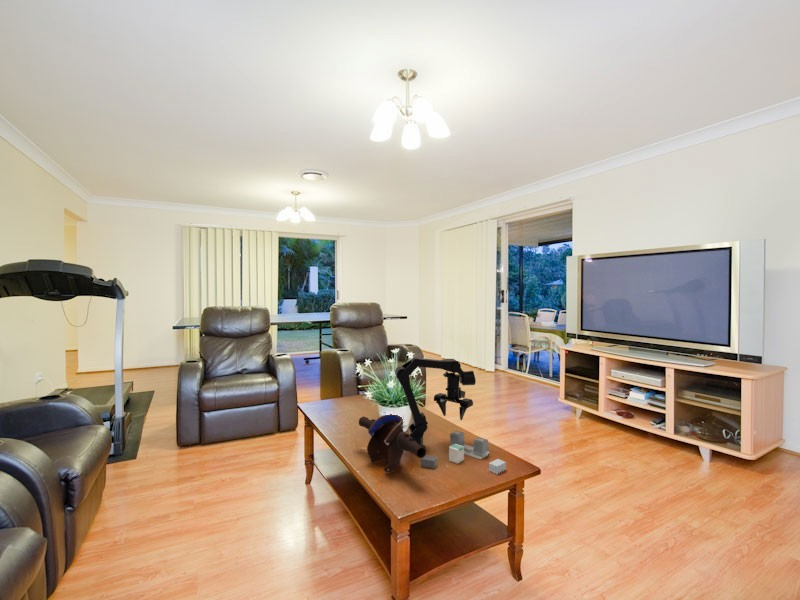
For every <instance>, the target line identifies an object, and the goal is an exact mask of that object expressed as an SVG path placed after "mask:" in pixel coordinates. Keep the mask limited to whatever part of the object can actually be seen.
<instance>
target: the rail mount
mask: <svg viewBox="0 0 800 600" xmlns="http://www.w3.org/2000/svg"><path fill="white" fill-rule="evenodd" d="M449 438H450V439H449V444H450V445H449V446H448V448H449V447H450V446H451V445H453V444H458V445H461V446H464V455H466V456H469V457H472V458H474V459H475V458H476V459H479V460H481V459H482V460H483V459H484V458H485V457H486V458H487V457H488V456H489V455H490V451H489V439H487V438H484V437H477V438H475V439H474V440H473V446H472V445H468V444H465V433H464V432H462V431H459V430H455V431H452V432H450V434H449ZM488 454H489V455H488Z"/></svg>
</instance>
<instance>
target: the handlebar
mask: <svg viewBox="0 0 800 600" xmlns="http://www.w3.org/2000/svg"><path fill="white" fill-rule="evenodd" d="M403 420H404V418H403V419H402V417H400V416H398V415H392V414H390V415H386V414H384V415H380V416H379V417H378V418H377V419H369V418H368V417H366V416H362V417H361V416H360V418H359V420H358V425H359V426H360V427H363V428H365V429H367V434H368V435H369V436H370V437H371V438H370V439H369V440H368V444H367V446H366V447H367V448H366V451H367V455H368V457H369V459H370V463H371V464H372V463H376V462H378V461H387V465H386V467H385V468H384V469H383V470H384V472H385V473H392V472H395V471H396V470H397V469H398V468H399V466H400V463H401V461H402V460H401V459H402V457H403V455H404V451H405V452H409V453H412V454H414V455H415V456H416V457H417V458H419V459H421V458H423V457H424V456H425V455H427V448H426V446H425V447H424V446H423V445H424V444H423V445H421V444H418V443H417V441H414V439H413V437H412V436H409V435H410V433H407V432H405V431H404V422H403Z"/></svg>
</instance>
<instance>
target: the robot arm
mask: <svg viewBox="0 0 800 600" xmlns="http://www.w3.org/2000/svg"><path fill="white" fill-rule="evenodd" d="M417 368H430V369H437V370H438V369H440V370H443V371H445V372H444V373H443V374H442V376H443V377H444V378H446V379H447V382H446V383H447V385H446V387H445V391H446V393H442V392H439V393H437V394H435V395H434V396H433V401H434V402H436V404H437V405H438V407H439V408H440V411H441V413H442V415H443V417H446V415H447V402H451V403H455V404H459V409H458V410H459V420H460V421H462V420H463V419H464V416H465V413H466V411H467V409H468V408H471V407H473V406H474V400H473V399H472V398H465V396H466V391H465V390H462V388H461V387H460V384H461V386H475V384H476V376H475V371H474V370H465V371H464V370H463V369H462V367H461V363H460V362H459V361H457V360H456V359H455V358H445V359H431V358H421V357H415V356H414V357H412V358H411V359H409V360H408V361H407V362H405V363H403V364H402V365H400V366H398V367H396V369H395V370H394V376H395V378H396V379H397V380H398V382H399V384H400V386H401V387H402V390H403V392H404V395H405V398H406V400H407V403H408V407H409V409H410V412H411V420H412V423H411V424H410V425H409V426H408V430H409V432H410V433H409V436H412V437H413V439H414V441H417V443H418V444H421V445H423V446H424V447H425V448H426V445H424V434H425V432H427V430H428V425H429V423H428V421H427V419H426V415H425V413H424V412H421V411H420V409H419V406H418V403H417V401H416V398H415V395H414V392H413V389H412V386H411V379H410V375H412V373H414V371H415V370H416V369H417ZM462 398H463V399H462Z"/></svg>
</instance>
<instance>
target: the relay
mask: <svg viewBox="0 0 800 600" xmlns="http://www.w3.org/2000/svg"><path fill="white" fill-rule="evenodd" d="M437 465H438V456H431V455H427V454H426V455H425V456H424V457H423V458H420V467H421V468H427V469H433V470H435V469H436V467H437Z"/></svg>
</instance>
